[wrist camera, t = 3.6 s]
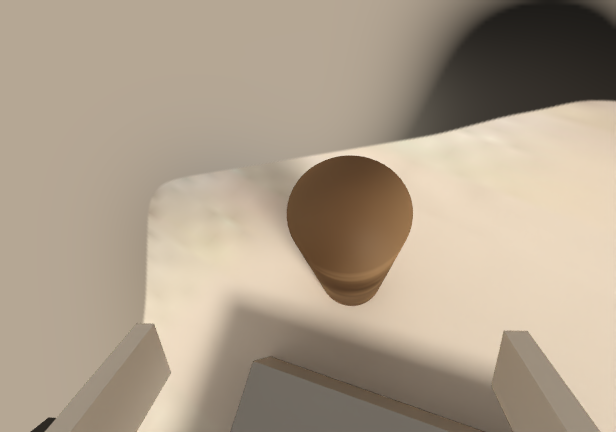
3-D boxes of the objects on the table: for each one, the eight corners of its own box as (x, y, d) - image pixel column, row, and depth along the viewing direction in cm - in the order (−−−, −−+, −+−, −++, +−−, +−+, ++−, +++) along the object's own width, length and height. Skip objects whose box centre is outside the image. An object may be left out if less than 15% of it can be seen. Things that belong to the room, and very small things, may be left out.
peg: (386, 254, 23) (423, 167, 11) (373, 313, 22) (399, 287, 10) (329, 240, 24) (306, 146, 12) (313, 295, 23) (270, 253, 11)
